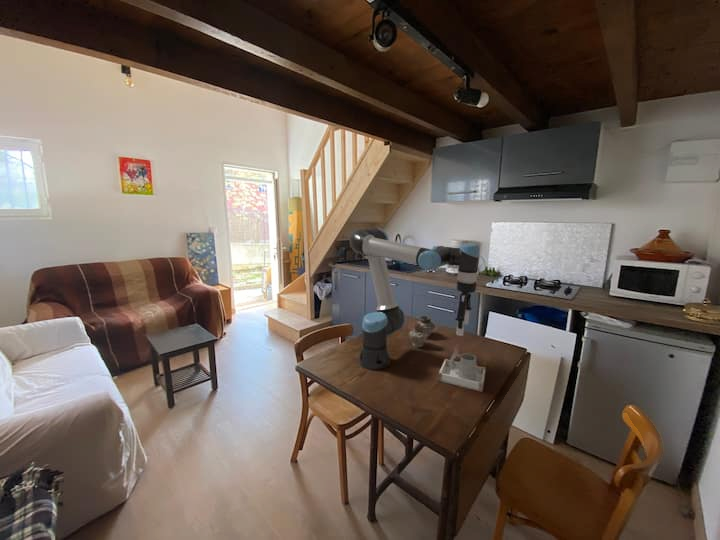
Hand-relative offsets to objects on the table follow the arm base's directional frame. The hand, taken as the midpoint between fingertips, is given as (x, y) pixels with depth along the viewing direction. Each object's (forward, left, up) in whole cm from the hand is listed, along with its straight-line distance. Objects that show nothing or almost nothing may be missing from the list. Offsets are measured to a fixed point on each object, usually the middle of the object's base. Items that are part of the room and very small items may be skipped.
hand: (462, 329), depth 125 cm
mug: (+2, -1, -21) cm, 21 cm away
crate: (+1, -1, -22) cm, 22 cm away
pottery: (-25, +29, -22) cm, 44 cm away
